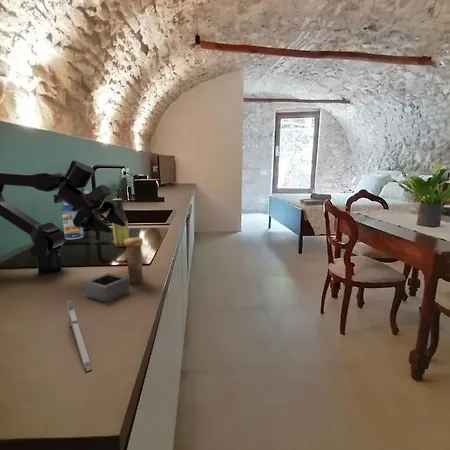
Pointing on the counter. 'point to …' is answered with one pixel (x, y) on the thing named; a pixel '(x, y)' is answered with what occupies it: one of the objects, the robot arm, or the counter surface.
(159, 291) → the counter surface
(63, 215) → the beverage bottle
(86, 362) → the caliper
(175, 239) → the counter surface
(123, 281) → the socket block
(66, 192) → the robot arm
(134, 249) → the pin
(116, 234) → the sauce bottle
